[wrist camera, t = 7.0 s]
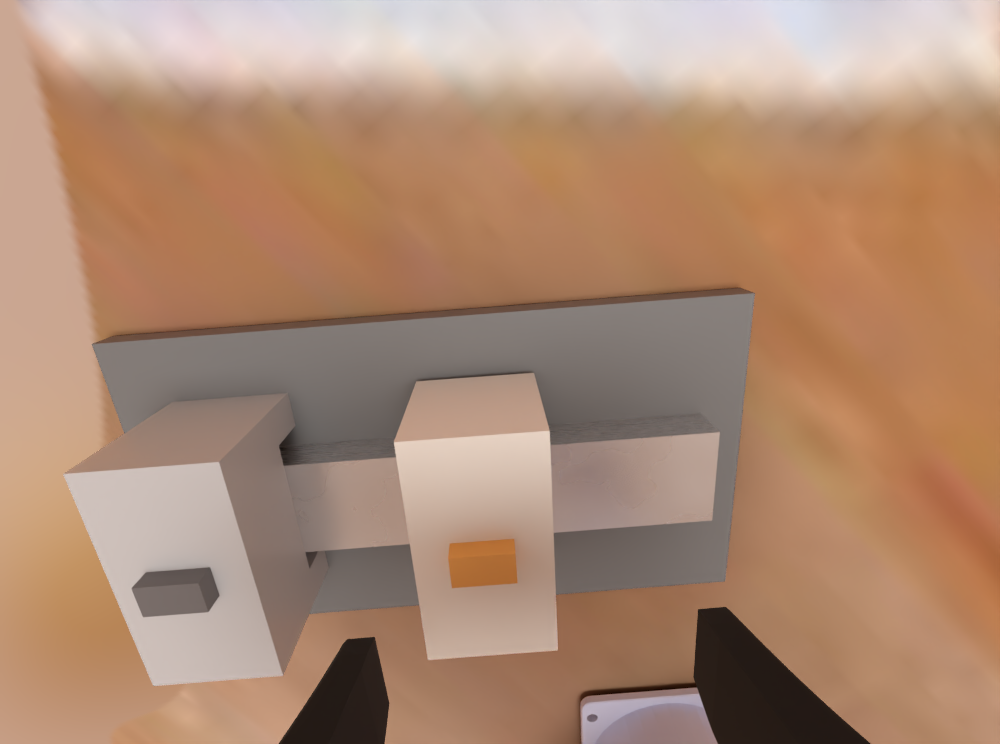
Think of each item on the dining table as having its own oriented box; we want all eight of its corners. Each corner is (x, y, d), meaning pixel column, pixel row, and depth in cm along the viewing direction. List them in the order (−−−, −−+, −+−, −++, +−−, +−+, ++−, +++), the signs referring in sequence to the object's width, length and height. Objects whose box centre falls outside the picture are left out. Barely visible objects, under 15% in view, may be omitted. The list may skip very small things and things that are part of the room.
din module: (542, 552, 19) (560, 667, 15) (440, 560, 19) (425, 678, 15) (533, 372, 17) (552, 441, 12) (416, 381, 17) (389, 453, 12)
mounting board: (714, 564, 21) (725, 581, 20) (206, 604, 21) (193, 622, 20) (740, 287, 17) (754, 293, 16) (113, 336, 17) (91, 344, 16)
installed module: (328, 567, 20) (275, 694, 15) (228, 575, 20) (140, 704, 15) (287, 393, 17) (206, 474, 12) (172, 401, 17) (43, 487, 12)
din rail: (695, 496, 19) (711, 520, 18) (201, 534, 19) (178, 562, 18) (701, 413, 18) (719, 432, 16) (174, 454, 18) (148, 476, 16)
